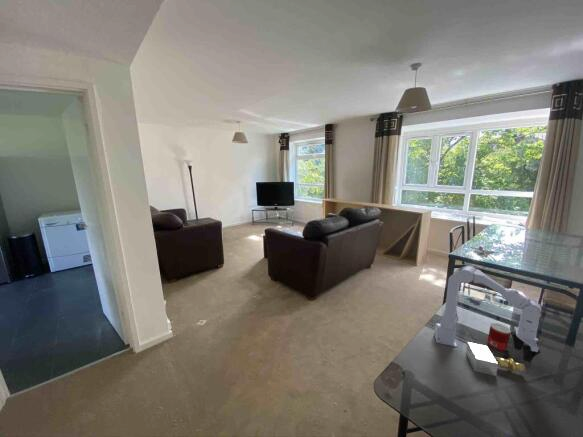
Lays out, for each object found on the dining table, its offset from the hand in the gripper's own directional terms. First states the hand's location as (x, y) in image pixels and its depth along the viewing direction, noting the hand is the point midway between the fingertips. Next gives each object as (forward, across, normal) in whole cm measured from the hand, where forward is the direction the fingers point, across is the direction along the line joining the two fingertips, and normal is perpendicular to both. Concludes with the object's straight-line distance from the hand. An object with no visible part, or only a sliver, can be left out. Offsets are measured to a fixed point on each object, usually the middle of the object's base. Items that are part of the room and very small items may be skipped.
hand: (521, 354), depth 106 cm
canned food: (+10, +18, +1) cm, 20 cm away
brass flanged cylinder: (+10, 0, +3) cm, 10 cm away
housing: (+10, 0, +14) cm, 17 cm away
